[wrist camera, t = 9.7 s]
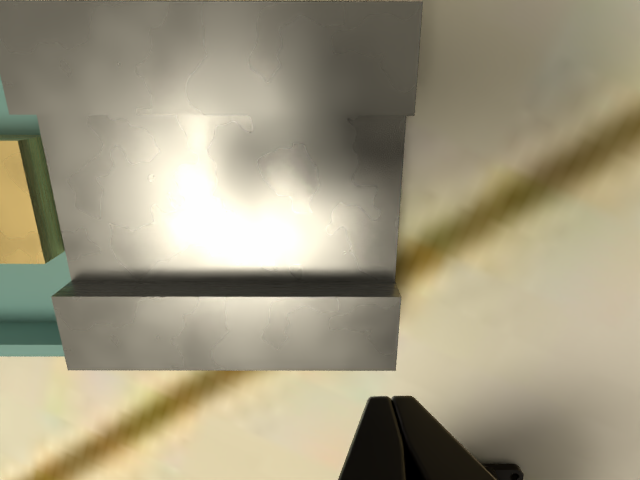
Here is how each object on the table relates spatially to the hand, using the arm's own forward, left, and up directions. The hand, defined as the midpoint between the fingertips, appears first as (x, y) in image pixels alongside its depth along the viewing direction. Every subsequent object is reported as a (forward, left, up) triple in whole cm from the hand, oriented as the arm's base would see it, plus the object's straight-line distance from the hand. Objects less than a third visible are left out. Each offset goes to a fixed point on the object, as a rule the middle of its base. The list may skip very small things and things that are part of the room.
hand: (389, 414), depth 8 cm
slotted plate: (+2, +5, -12) cm, 13 cm away
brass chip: (+1, +15, -12) cm, 19 cm away
